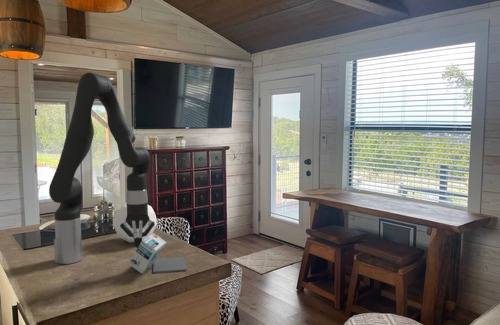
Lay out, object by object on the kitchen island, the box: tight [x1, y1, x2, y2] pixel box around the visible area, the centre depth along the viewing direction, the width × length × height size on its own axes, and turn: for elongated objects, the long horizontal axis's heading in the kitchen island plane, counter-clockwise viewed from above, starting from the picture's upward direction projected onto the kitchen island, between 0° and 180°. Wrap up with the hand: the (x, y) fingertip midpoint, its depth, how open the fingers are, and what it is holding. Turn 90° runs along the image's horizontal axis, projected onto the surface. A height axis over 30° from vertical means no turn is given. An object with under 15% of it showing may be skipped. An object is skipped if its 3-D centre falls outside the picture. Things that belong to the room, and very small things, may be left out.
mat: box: [152, 256, 187, 274], centre depth 151 cm, size 12×14×1 cm
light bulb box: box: [127, 232, 167, 274], centre depth 146 cm, size 11×7×11 cm
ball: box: [112, 201, 157, 244], centre depth 182 cm, size 19×20×20 cm
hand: (138, 247), depth 146 cm, fingers closed
